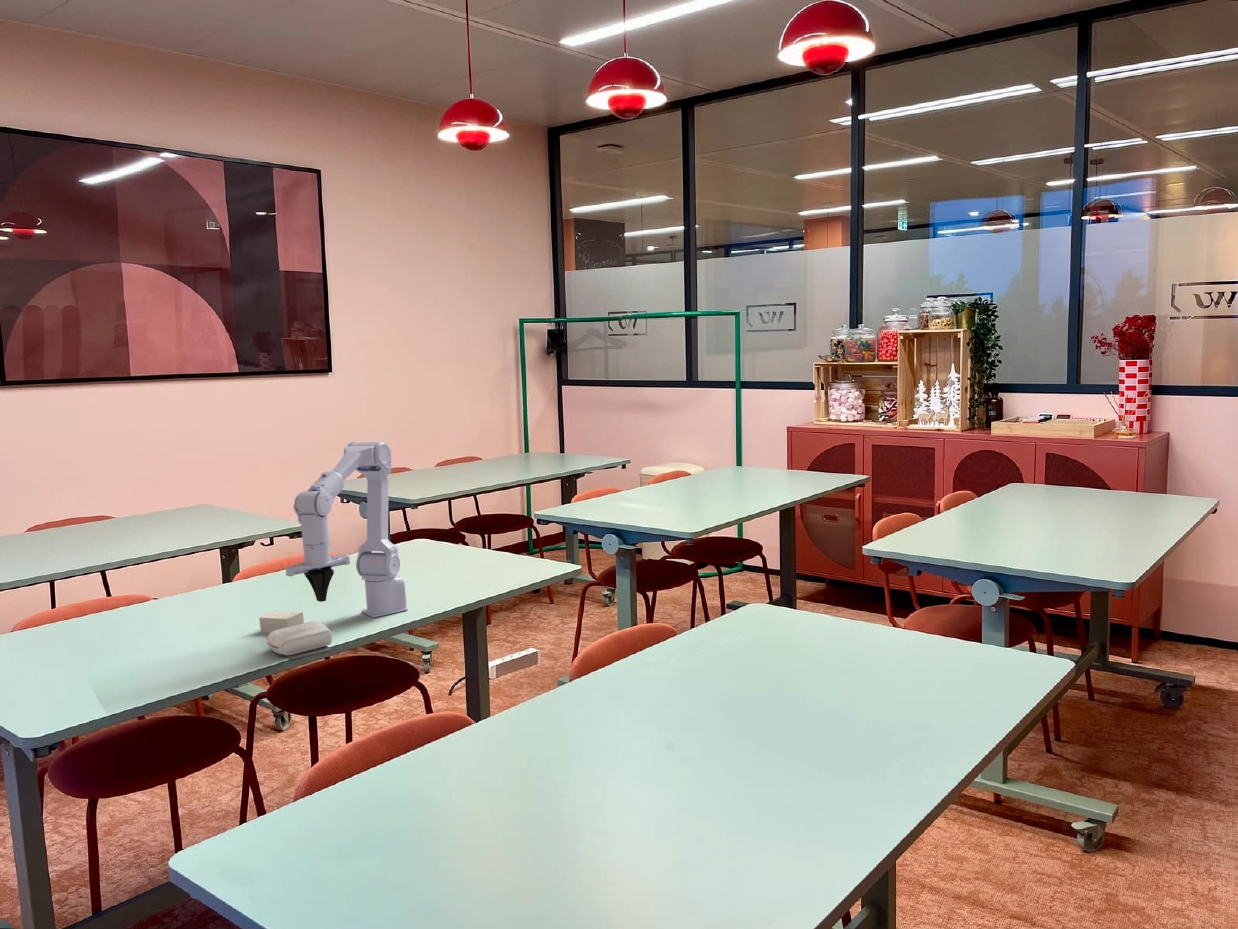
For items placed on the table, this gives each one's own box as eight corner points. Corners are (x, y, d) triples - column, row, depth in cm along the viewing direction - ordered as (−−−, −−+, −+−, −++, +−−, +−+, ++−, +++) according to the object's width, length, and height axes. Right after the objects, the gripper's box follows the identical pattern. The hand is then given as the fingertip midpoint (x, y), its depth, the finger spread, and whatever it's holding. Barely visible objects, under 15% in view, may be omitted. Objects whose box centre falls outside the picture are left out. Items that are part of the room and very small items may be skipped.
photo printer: (316, 636, 216) (263, 649, 209) (314, 618, 216) (261, 631, 208) (333, 646, 208) (279, 660, 201) (332, 628, 208) (277, 641, 200)
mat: (310, 636, 217) (310, 635, 217) (331, 650, 206) (331, 649, 206) (271, 645, 212) (271, 644, 212) (291, 659, 201) (291, 659, 201)
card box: (277, 626, 228) (276, 610, 228) (304, 627, 226) (302, 612, 225) (260, 633, 223) (259, 617, 222) (288, 635, 220) (286, 619, 220)
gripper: (338, 535, 217) (342, 591, 219) (277, 546, 208) (283, 604, 209) (351, 538, 212) (356, 596, 214) (290, 550, 202) (296, 610, 204)
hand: (321, 600), depth 211 cm, fingers closed
